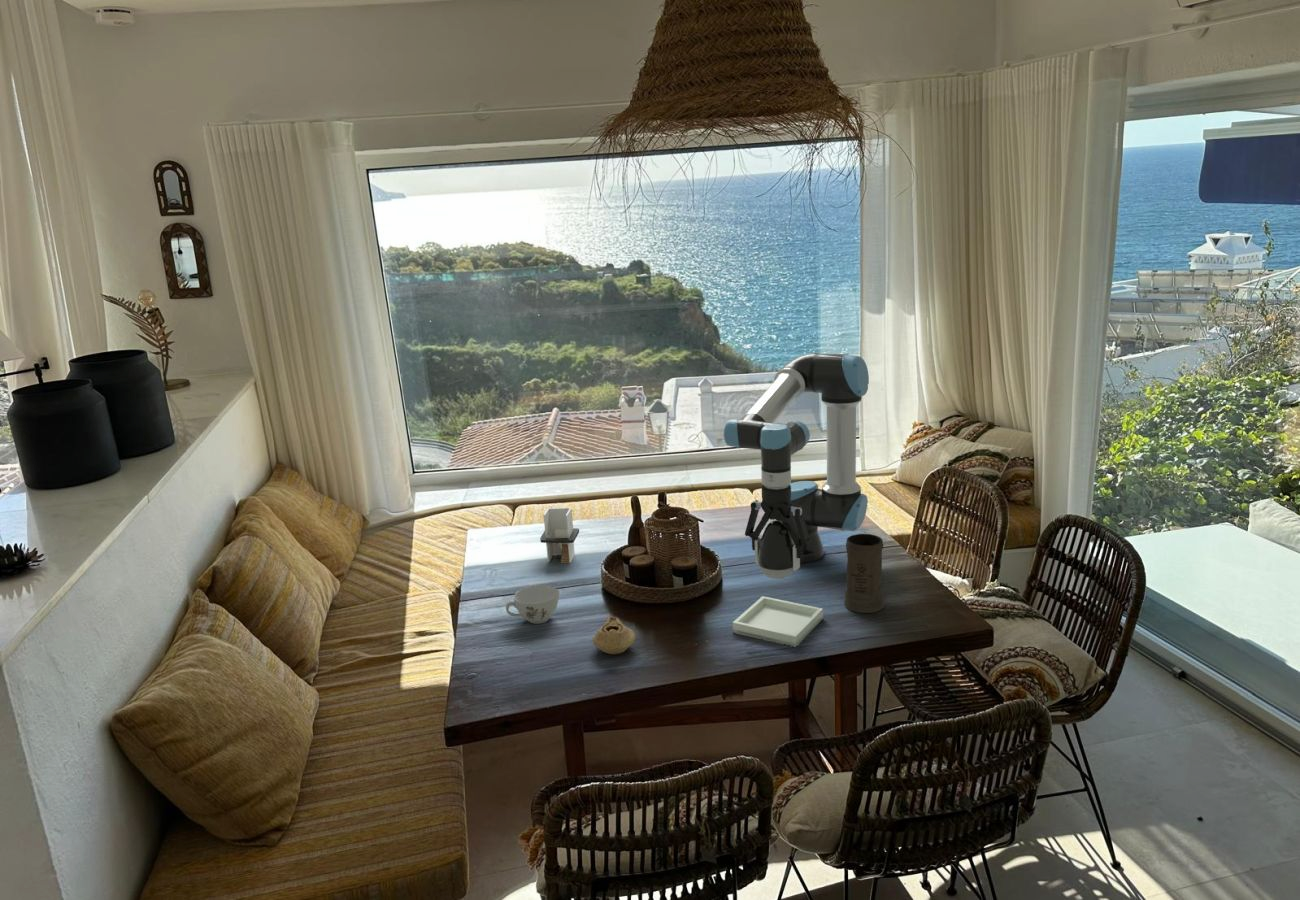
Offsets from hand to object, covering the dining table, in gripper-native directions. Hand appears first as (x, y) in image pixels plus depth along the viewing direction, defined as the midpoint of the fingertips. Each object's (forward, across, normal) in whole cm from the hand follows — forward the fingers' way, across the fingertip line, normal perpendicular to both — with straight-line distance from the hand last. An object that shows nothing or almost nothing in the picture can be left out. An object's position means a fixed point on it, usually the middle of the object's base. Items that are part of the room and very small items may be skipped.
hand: (777, 565), depth 247 cm
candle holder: (+18, -82, +12) cm, 85 cm away
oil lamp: (+18, -33, -30) cm, 48 cm away
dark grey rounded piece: (+3, 0, 0) cm, 3 cm away
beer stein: (+18, +15, +24) cm, 33 cm away
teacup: (+18, -62, -27) cm, 70 cm away
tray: (+18, 0, 0) cm, 18 cm away
